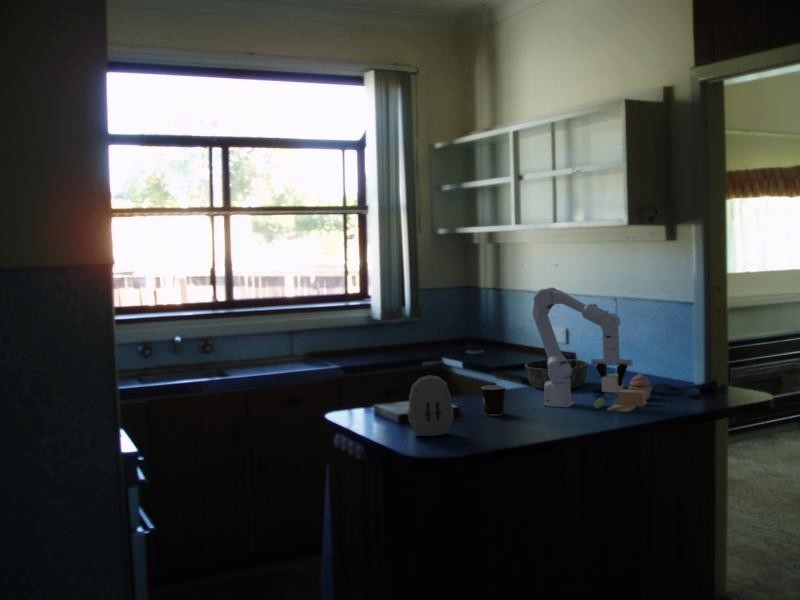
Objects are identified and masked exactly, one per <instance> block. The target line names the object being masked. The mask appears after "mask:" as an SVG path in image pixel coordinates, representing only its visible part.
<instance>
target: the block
mask: <svg viewBox="0 0 800 600" xmlns="http://www.w3.org/2000/svg"><path fill="white" fill-rule="evenodd" d="M621 389H624V380H623V381H622V385H621V386H619V385H618V373H608V374H606V376H604V377H602V379H601V392H604V393H618V391H620V390H621Z"/></svg>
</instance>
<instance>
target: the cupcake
mask: <svg viewBox="0 0 800 600" xmlns="http://www.w3.org/2000/svg"><path fill="white" fill-rule="evenodd" d="M650 381H651V380H649V379H648V377H645V376H644V375H643V374H642V373H640V372H638V374H637V375H635V376H634V377H632V378H631V380H630V381H629V385H627V390H646V401H647V400H649V399H650V396H651V392H652V389H653V388H654V386H653V385H651V382H650Z"/></svg>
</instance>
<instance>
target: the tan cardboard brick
mask: <svg viewBox="0 0 800 600" xmlns="http://www.w3.org/2000/svg"><path fill="white" fill-rule="evenodd" d="M617 405H629V406H635V407H644V406H646V405H647V400H646V390H629V389H628V388H627V389H626V388H625V389H624V388H622V389H621V390H619V391H617Z"/></svg>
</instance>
